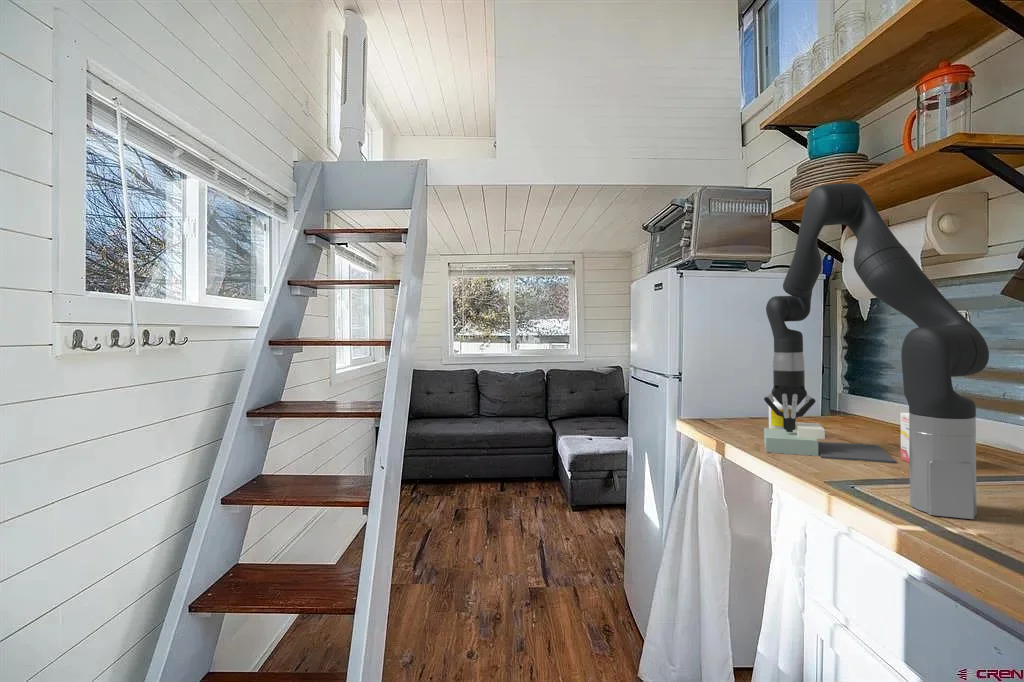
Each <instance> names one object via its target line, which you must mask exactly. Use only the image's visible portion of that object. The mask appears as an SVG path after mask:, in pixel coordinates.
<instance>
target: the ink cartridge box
mask: <svg viewBox="0 0 1024 682" xmlns="http://www.w3.org/2000/svg"><path fill="white" fill-rule="evenodd" d="M899 415H900V417H899V418H900V460H902V461H904V462H907V463H909V464H910V459H909V412H900V413H899Z"/></svg>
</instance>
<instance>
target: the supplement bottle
mask: <svg viewBox="0 0 1024 682" xmlns="http://www.w3.org/2000/svg"><path fill="white" fill-rule="evenodd" d="M773 399H774V402H773V404H774V405H775V406H776V407H777V408H778V409H779V410H780V411H782V412H783V410H782V405H781V404H780V403H779V402H778V401H777V400H776V399H775V397H773ZM788 414H789V418H790V405H788ZM768 428H773V429H784V427H783V417H781V416H778V415H777V414H776V413H775V412H774V411H773V410H772V409H771V408H770V406H769V405H768Z"/></svg>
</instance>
